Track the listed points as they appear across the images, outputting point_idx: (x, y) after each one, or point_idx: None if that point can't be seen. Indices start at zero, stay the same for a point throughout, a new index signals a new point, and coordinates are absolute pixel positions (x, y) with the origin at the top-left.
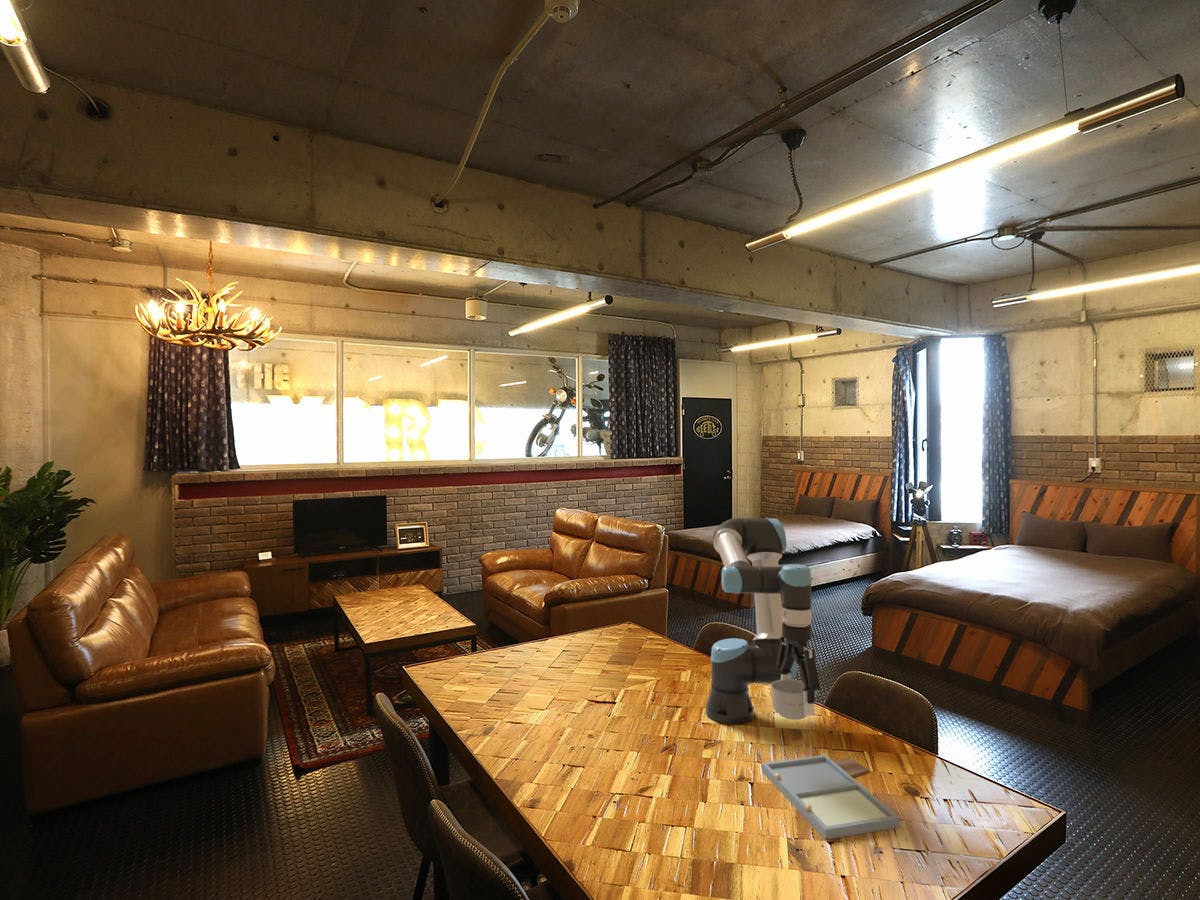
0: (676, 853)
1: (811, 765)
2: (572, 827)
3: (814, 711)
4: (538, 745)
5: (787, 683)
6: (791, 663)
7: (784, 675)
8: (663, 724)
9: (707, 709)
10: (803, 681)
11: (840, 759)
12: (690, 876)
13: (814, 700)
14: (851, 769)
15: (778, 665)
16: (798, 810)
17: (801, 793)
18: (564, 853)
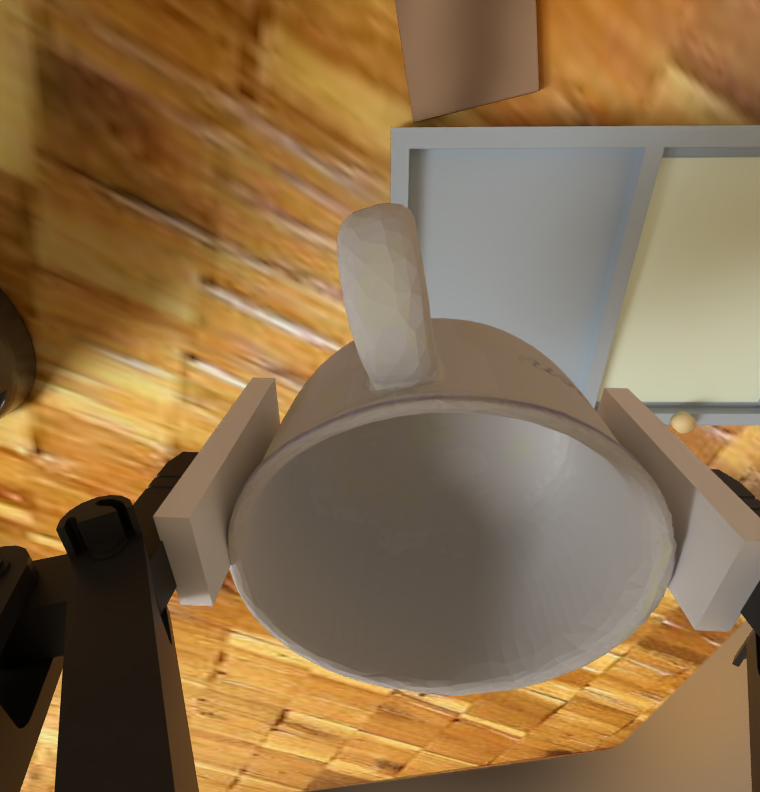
0: (609, 658)
1: (429, 237)
2: (473, 742)
3: (641, 402)
4: (193, 747)
5: (258, 503)
6: (174, 742)
7: (209, 584)
8: (65, 552)
9: None
10: (757, 729)
11: (400, 33)
12: (673, 657)
13: (748, 493)
14: (499, 39)
15: (51, 689)
16: None
17: (596, 392)
18: (530, 754)
